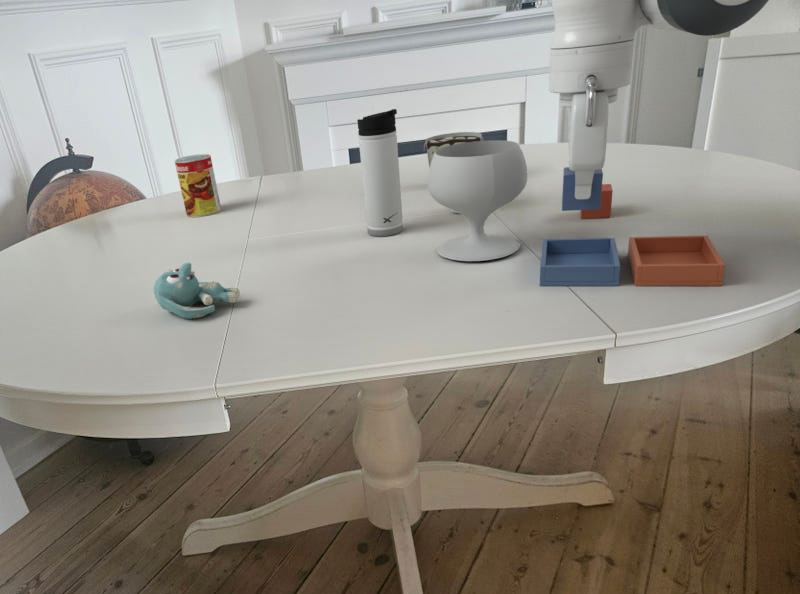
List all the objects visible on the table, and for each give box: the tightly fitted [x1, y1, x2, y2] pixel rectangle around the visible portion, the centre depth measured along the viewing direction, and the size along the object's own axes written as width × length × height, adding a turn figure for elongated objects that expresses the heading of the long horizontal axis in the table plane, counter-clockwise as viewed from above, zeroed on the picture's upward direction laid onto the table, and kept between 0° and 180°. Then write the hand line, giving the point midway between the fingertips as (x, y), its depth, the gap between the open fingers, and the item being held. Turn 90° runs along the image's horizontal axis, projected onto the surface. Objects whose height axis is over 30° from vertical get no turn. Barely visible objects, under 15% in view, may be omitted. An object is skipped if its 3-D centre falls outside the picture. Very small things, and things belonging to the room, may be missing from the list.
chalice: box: [427, 139, 528, 262], centre depth 93 cm, size 14×14×15 cm
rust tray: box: [627, 234, 726, 287], centre depth 79 cm, size 9×11×3 cm
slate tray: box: [539, 237, 621, 287], centre depth 83 cm, size 9×11×3 cm
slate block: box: [561, 166, 604, 212], centre depth 79 cm, size 4×4×4 cm
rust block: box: [580, 183, 614, 220], centre depth 103 cm, size 4×4×4 cm
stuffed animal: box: [153, 261, 241, 320], centre depth 88 cm, size 11×7×12 cm
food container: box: [423, 131, 485, 168], centre depth 134 cm, size 12×6×10 cm, turn 80°
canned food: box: [174, 153, 222, 218], centre depth 140 cm, size 8×8×12 cm
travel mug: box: [357, 108, 404, 238], centre depth 106 cm, size 6×7×20 cm
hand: (581, 191), depth 79 cm, fingers closed on slate block, 4 cm apart
